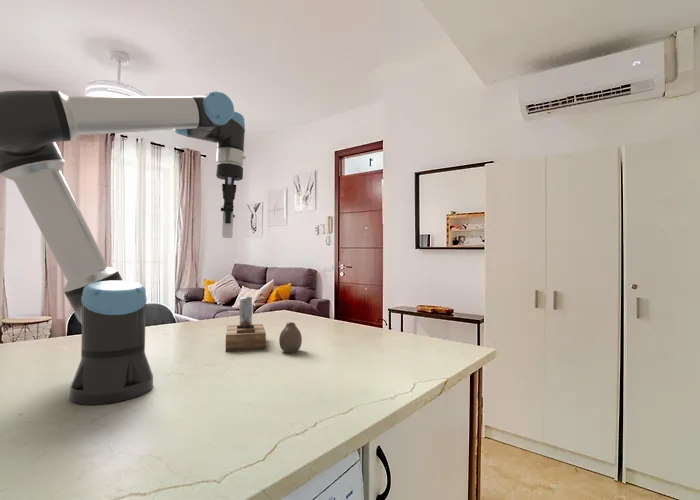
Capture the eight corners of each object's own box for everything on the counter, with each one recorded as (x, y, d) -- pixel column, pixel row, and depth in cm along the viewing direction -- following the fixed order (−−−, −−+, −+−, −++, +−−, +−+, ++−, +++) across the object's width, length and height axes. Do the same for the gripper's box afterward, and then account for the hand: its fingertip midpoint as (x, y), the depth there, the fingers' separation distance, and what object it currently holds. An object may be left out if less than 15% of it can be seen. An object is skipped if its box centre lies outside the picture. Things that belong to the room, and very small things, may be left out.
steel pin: (251, 339, 127) (252, 298, 127) (239, 340, 126) (239, 298, 126) (251, 336, 131) (251, 296, 131) (239, 337, 130) (239, 297, 130)
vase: (299, 354, 113) (300, 325, 113) (277, 354, 113) (277, 324, 113) (303, 348, 120) (303, 321, 120) (281, 348, 120) (281, 320, 120)
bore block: (265, 349, 119) (265, 333, 119) (225, 351, 115) (225, 335, 115) (262, 338, 134) (262, 324, 134) (227, 339, 130) (227, 325, 131)
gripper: (245, 156, 101) (242, 235, 100) (241, 175, 125) (239, 239, 124) (215, 153, 99) (212, 233, 98) (217, 173, 122) (215, 238, 122)
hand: (227, 237), depth 111 cm, fingers open, 13 cm apart
